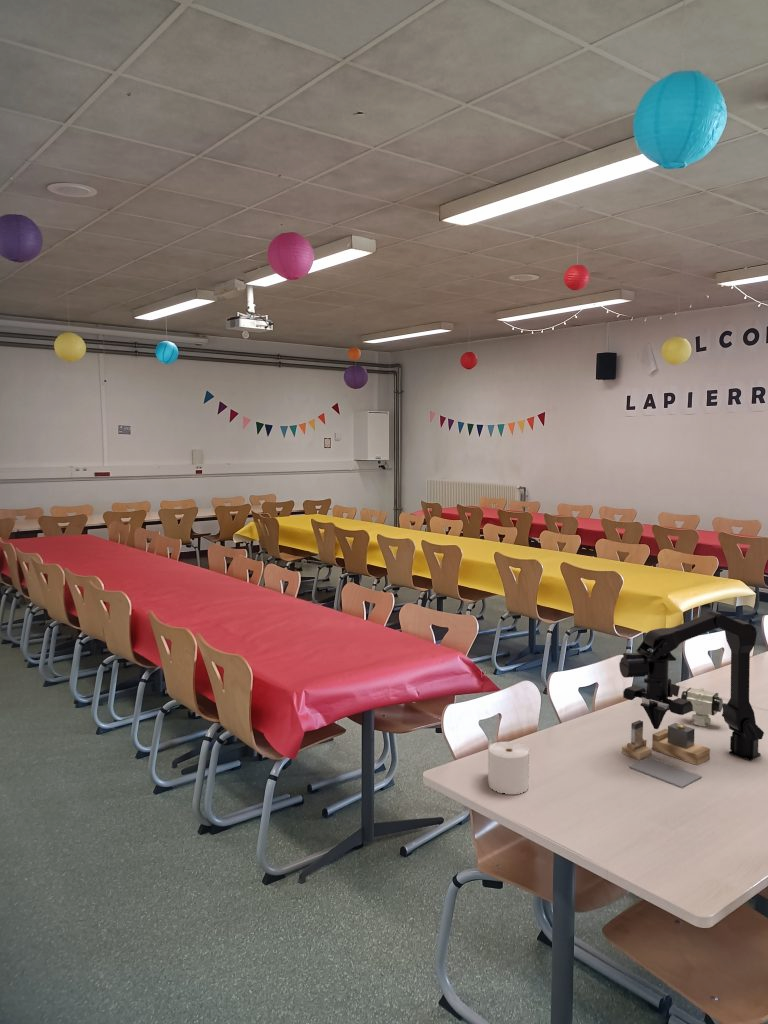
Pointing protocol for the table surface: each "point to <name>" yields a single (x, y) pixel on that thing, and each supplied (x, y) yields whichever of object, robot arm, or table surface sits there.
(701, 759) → the body
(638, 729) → the lever
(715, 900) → the table surface
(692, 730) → the grey knobbed drawer
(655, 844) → the table surface
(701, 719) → the pneumatic valve
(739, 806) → the table surface
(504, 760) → the toilet tissue
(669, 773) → the felt pad
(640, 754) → the lever mount
